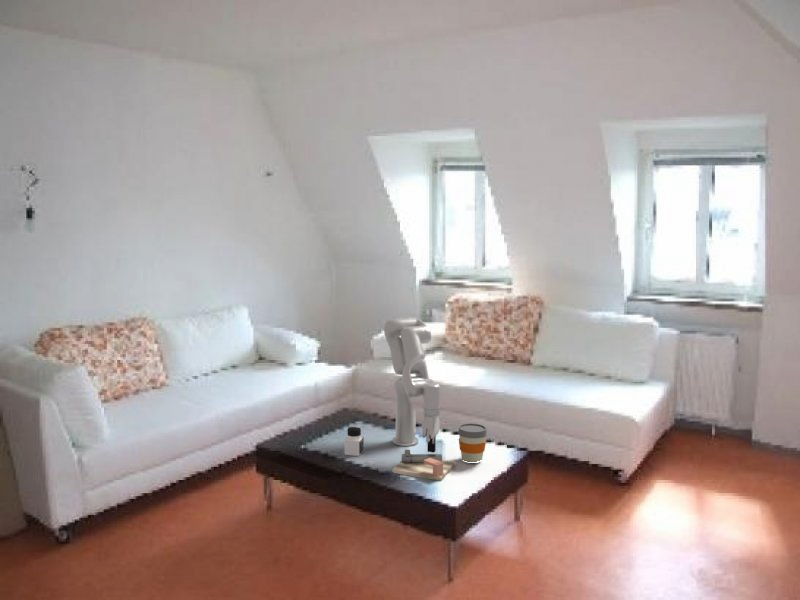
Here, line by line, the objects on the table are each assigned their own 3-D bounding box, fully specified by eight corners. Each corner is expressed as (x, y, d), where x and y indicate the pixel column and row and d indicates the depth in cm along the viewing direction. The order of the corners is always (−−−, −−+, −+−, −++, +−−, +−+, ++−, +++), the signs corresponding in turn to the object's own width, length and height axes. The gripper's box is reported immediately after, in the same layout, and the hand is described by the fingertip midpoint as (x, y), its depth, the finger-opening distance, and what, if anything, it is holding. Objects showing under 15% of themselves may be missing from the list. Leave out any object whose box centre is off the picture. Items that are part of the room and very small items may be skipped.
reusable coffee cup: (482, 467, 284) (483, 433, 282) (454, 463, 288) (455, 430, 286) (488, 457, 296) (489, 425, 294) (461, 453, 300) (462, 421, 298)
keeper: (423, 471, 275) (423, 459, 274) (430, 469, 277) (430, 457, 277) (436, 476, 269) (436, 465, 268) (443, 474, 272) (443, 462, 271)
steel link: (401, 463, 282) (401, 457, 282) (401, 459, 287) (401, 453, 287) (442, 463, 283) (442, 457, 283) (441, 458, 288) (441, 453, 288)
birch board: (408, 457, 294) (408, 443, 293) (455, 465, 286) (455, 450, 285) (392, 472, 277) (392, 456, 276) (441, 480, 269) (441, 464, 268)
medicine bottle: (359, 456, 296) (359, 430, 294) (344, 455, 297) (344, 429, 296) (363, 450, 303) (363, 425, 301) (348, 449, 304) (348, 424, 302)
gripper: (429, 406, 297) (429, 445, 299) (417, 414, 283) (417, 455, 285) (445, 407, 294) (444, 447, 296) (434, 416, 280) (433, 458, 282)
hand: (431, 451), depth 290 cm, fingers closed
